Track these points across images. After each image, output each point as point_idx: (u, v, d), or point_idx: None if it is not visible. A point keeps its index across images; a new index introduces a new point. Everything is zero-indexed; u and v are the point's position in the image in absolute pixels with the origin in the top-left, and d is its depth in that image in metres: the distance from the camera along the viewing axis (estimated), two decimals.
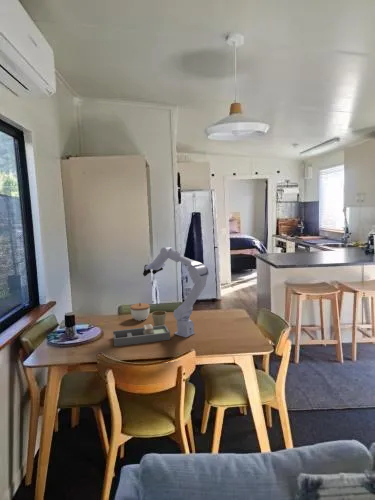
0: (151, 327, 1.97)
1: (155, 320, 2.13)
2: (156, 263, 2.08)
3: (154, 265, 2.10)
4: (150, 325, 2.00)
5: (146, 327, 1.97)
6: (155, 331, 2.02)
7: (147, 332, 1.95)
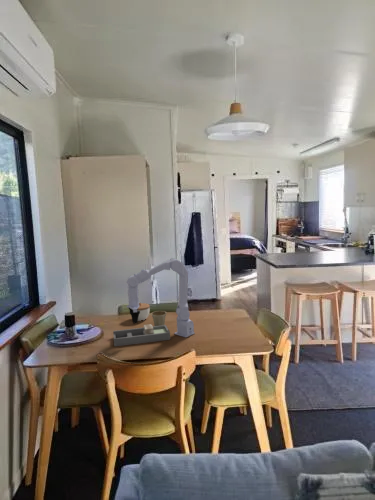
0: (151, 327, 1.97)
1: (155, 320, 2.13)
2: (135, 299, 1.92)
3: (135, 303, 1.92)
4: (150, 325, 2.00)
5: (146, 327, 1.97)
6: (155, 331, 2.02)
7: (147, 332, 1.95)
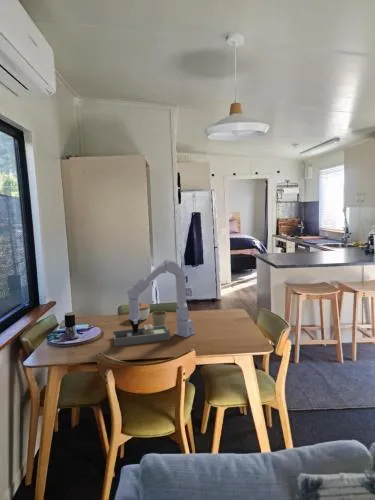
0: (151, 327, 1.97)
1: (155, 320, 2.13)
2: (136, 311, 1.93)
3: (136, 315, 1.93)
4: (150, 325, 2.00)
5: (146, 327, 1.97)
6: (155, 331, 2.02)
7: (147, 332, 1.95)
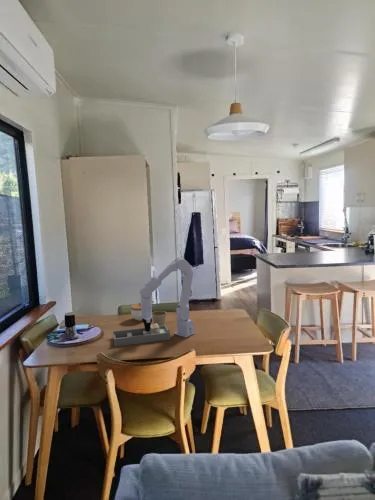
0: (157, 326, 1.98)
1: (155, 320, 2.13)
2: (148, 309, 1.95)
3: (148, 313, 1.95)
4: (155, 325, 2.01)
5: (152, 326, 1.98)
6: None
7: (153, 331, 1.96)
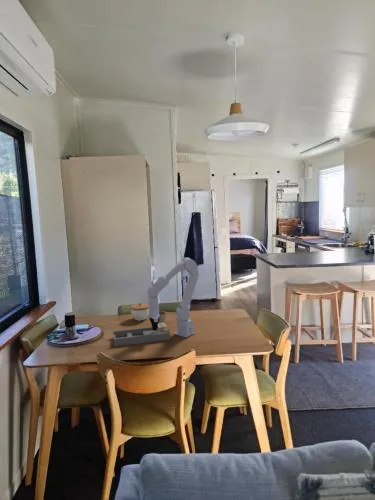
0: (164, 325, 1.99)
1: None
2: (156, 309, 1.96)
3: (156, 313, 1.96)
4: (162, 324, 2.02)
5: (159, 325, 1.99)
6: (155, 331, 2.02)
7: (161, 330, 1.97)
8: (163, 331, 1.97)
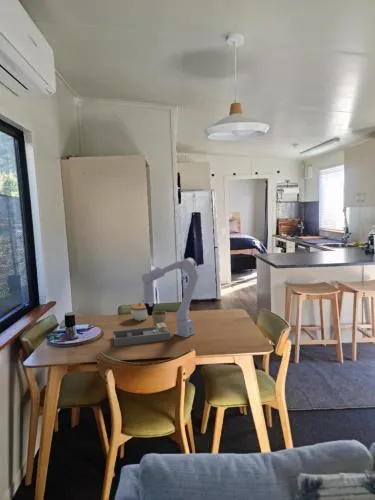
0: (164, 325, 1.99)
1: (155, 320, 2.13)
2: (151, 294, 2.02)
3: (150, 298, 2.03)
4: (162, 324, 2.02)
5: (159, 325, 1.99)
6: (155, 331, 2.02)
7: (161, 330, 1.97)
8: (163, 331, 1.97)
